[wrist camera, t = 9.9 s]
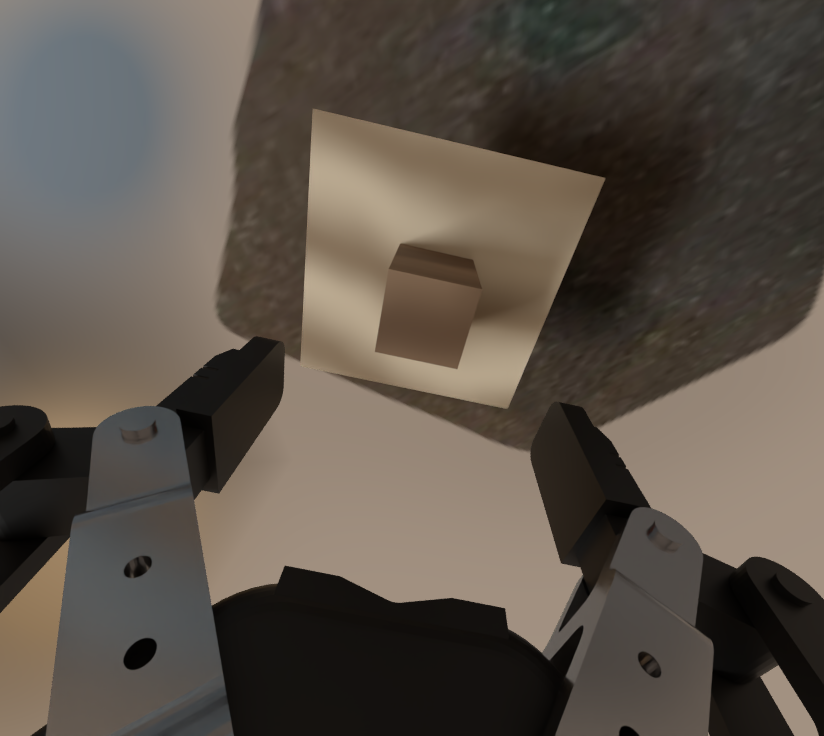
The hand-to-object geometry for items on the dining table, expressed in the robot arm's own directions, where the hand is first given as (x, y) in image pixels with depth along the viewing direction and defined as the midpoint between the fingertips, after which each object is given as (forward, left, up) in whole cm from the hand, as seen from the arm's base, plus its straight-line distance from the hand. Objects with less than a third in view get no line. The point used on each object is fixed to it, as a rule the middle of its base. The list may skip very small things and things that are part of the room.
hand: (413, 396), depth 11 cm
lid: (0, 0, -12) cm, 12 cm away
